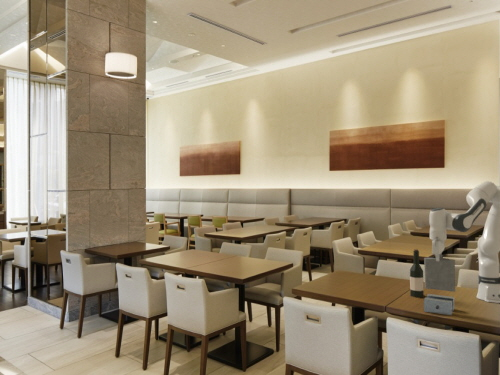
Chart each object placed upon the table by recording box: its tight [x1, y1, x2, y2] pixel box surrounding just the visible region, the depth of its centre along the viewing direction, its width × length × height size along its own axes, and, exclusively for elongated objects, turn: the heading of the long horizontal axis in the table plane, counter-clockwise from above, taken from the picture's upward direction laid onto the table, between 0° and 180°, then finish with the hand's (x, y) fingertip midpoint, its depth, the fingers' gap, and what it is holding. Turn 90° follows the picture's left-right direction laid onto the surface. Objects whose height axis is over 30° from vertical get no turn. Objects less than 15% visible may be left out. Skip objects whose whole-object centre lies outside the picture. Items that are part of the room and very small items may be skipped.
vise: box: [423, 293, 455, 316], centre depth 229 cm, size 14×14×7 cm
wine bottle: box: [409, 248, 425, 298], centre depth 261 cm, size 8×8×30 cm
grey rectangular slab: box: [423, 254, 456, 293], centre depth 230 cm, size 16×4×20 cm, turn 56°
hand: (438, 260), depth 230 cm, fingers closed on grey rectangular slab, 4 cm apart
